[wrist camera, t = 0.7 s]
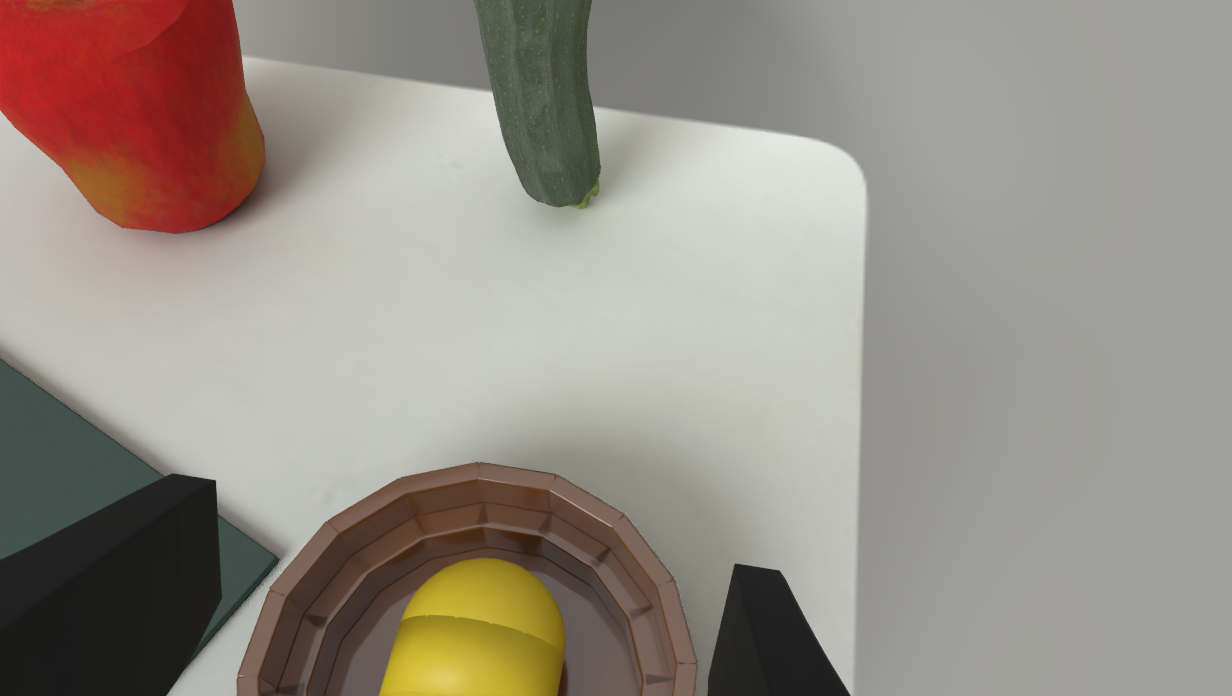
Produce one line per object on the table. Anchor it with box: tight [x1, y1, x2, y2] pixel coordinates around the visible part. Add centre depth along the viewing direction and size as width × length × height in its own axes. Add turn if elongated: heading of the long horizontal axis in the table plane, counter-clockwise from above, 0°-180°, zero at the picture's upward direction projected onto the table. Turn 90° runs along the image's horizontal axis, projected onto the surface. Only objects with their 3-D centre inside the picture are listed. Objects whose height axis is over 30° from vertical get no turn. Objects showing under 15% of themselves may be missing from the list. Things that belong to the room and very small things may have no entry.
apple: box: [0, 0, 265, 234], centre depth 34 cm, size 9×8×12 cm
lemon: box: [379, 558, 566, 696], centre depth 26 cm, size 7×5×5 cm
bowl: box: [237, 462, 698, 696], centre depth 27 cm, size 12×12×4 cm
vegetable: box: [474, 0, 601, 209], centre depth 31 cm, size 4×4×20 cm
